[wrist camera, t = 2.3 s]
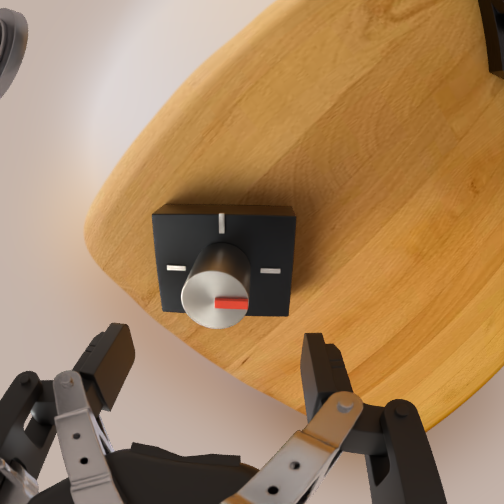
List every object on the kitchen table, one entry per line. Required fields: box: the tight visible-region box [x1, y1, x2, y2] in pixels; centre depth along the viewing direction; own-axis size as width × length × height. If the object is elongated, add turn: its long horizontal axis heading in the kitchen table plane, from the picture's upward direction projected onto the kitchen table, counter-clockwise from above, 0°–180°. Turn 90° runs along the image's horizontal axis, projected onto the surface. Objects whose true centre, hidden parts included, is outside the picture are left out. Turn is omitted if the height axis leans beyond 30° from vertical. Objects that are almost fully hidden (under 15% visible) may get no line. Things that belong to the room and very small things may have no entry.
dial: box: [181, 243, 251, 329], centre depth 19 cm, size 4×4×5 cm
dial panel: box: [152, 204, 296, 317], centre depth 23 cm, size 10×8×3 cm
